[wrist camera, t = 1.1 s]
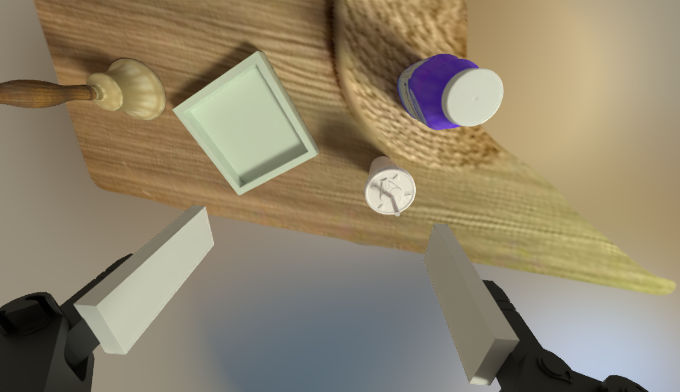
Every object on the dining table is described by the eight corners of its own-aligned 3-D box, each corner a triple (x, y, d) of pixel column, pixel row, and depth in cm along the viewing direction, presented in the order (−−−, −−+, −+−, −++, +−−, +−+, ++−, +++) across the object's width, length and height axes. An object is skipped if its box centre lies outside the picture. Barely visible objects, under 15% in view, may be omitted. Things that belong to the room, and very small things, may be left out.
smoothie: (371, 191, 40) (380, 242, 28) (355, 158, 38) (355, 198, 26) (408, 175, 39) (434, 221, 26) (392, 140, 37) (413, 172, 24)
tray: (183, 107, 36) (172, 109, 34) (264, 52, 32) (257, 50, 30) (245, 189, 41) (238, 195, 39) (319, 150, 38) (317, 154, 36)
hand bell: (95, 73, 35) (-87, 69, 20) (139, 47, 33) (-27, 23, 19) (136, 128, 38) (3, 158, 23) (177, 107, 36) (62, 126, 22)
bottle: (387, 78, 33) (418, 77, 17) (427, 52, 31) (500, 25, 16) (410, 124, 35) (455, 160, 20) (448, 102, 34) (528, 122, 18)
